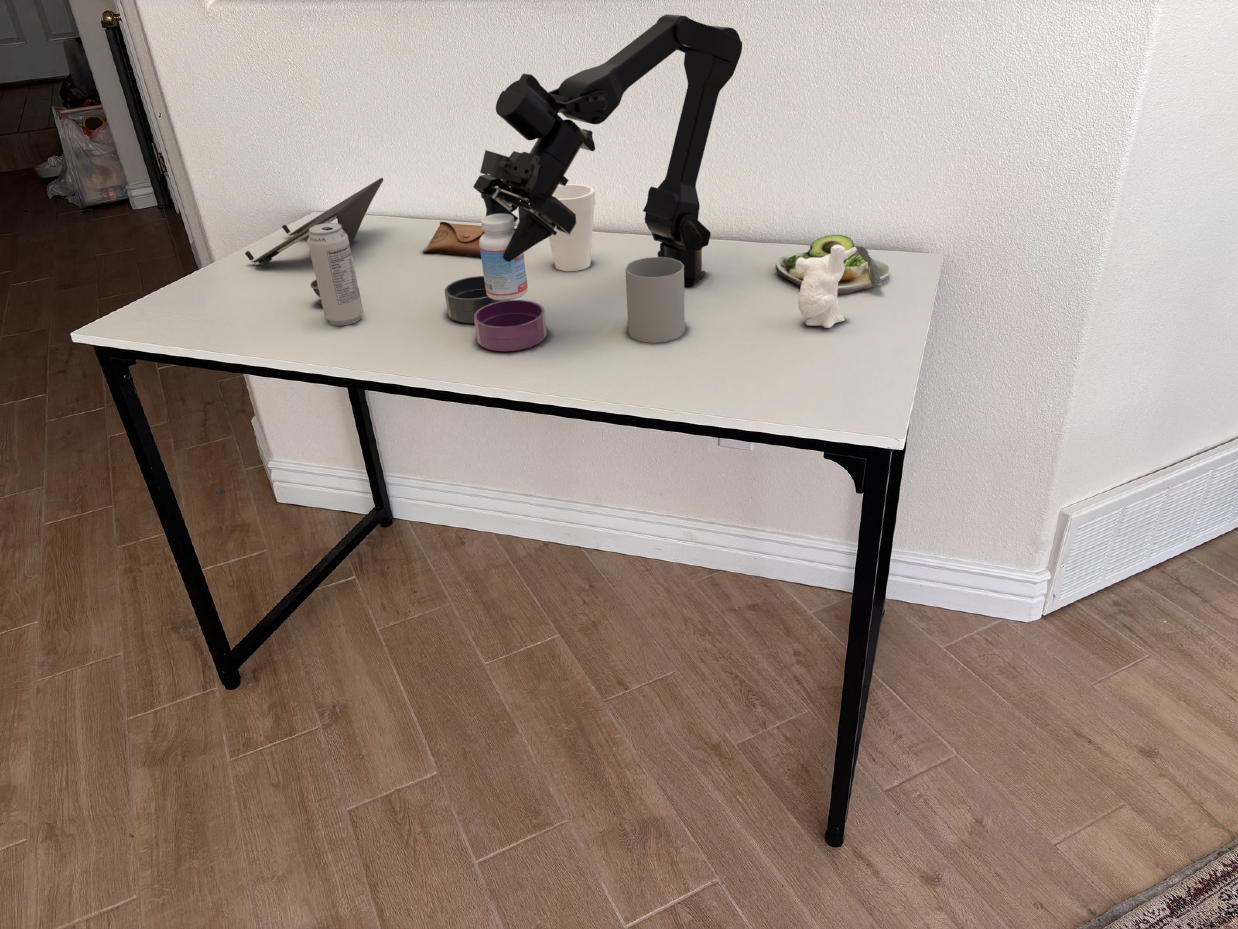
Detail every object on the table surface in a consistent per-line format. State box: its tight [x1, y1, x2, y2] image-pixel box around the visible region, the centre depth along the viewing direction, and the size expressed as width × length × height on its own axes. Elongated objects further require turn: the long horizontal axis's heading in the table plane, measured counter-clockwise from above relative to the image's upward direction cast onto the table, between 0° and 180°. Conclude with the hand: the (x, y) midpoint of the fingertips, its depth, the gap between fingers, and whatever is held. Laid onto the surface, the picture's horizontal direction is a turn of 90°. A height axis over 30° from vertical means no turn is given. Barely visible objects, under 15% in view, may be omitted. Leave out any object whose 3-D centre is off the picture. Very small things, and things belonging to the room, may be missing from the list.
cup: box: [624, 256, 686, 344], centre depth 136 cm, size 8×8×10 cm
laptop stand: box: [244, 177, 384, 267], centre depth 177 cm, size 23×23×9 cm
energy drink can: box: [307, 222, 364, 326], centre depth 145 cm, size 6×6×15 cm
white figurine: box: [795, 245, 857, 329], centre depth 135 cm, size 8×7×12 cm
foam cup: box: [548, 183, 596, 272], centre depth 161 cm, size 10×9×13 cm
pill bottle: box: [479, 214, 529, 300], centre depth 133 cm, size 6×6×11 cm
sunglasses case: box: [422, 221, 516, 258], centre depth 174 cm, size 18×7×7 cm
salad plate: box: [775, 234, 891, 295], centre depth 152 cm, size 19×18×5 cm
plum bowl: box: [474, 299, 548, 352], centre depth 138 cm, size 10×10×4 cm
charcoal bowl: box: [444, 275, 507, 324], centre depth 147 cm, size 10×10×4 cm
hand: (493, 254), depth 132 cm, fingers closed on pill bottle, 6 cm apart
